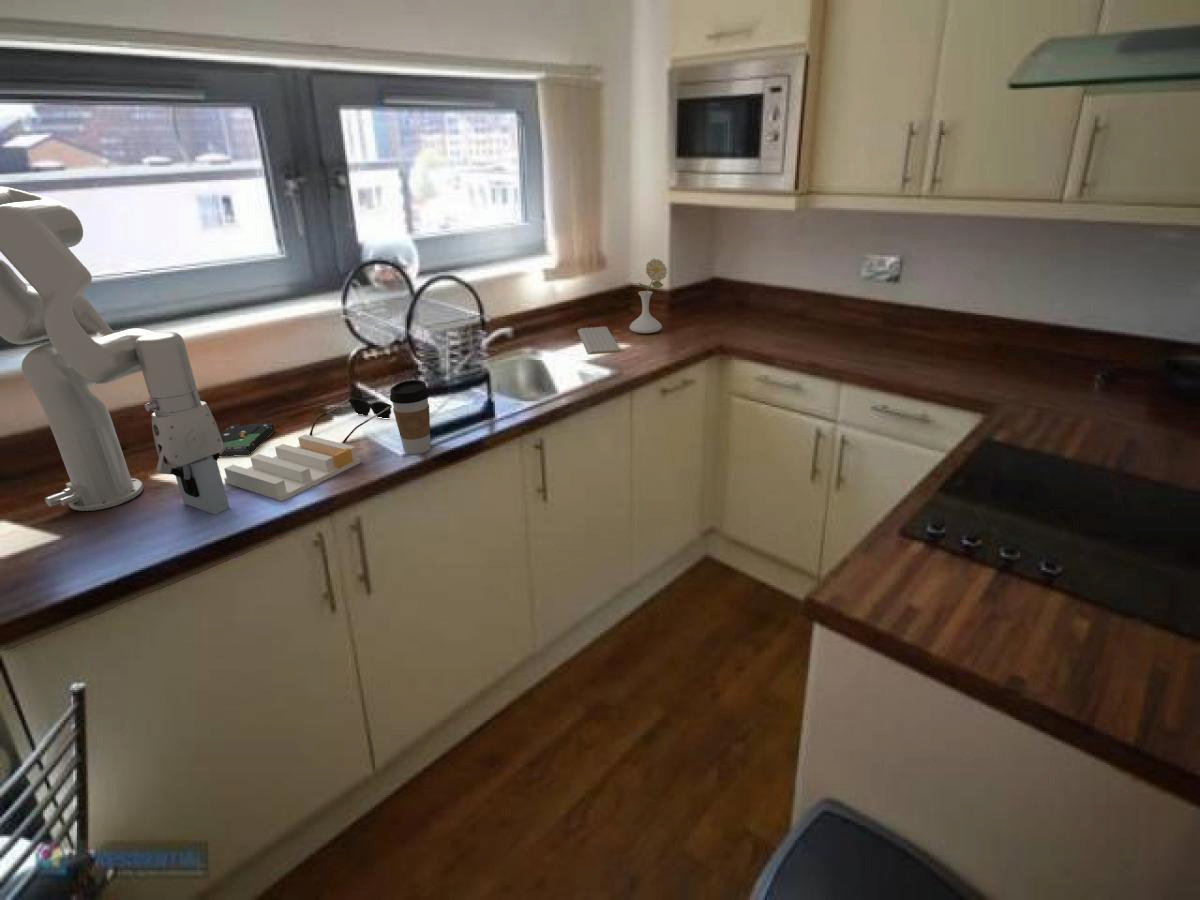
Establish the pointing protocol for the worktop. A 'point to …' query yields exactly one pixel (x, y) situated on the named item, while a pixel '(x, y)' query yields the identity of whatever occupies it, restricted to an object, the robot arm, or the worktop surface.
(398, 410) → the coffee cup
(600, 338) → the baseboard
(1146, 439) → the worktop surface
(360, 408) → the sunglasses
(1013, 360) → the worktop surface
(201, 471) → the panel
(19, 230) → the robot arm
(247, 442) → the disk drive
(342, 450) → the rack
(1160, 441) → the worktop surface
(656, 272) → the flower in vase
